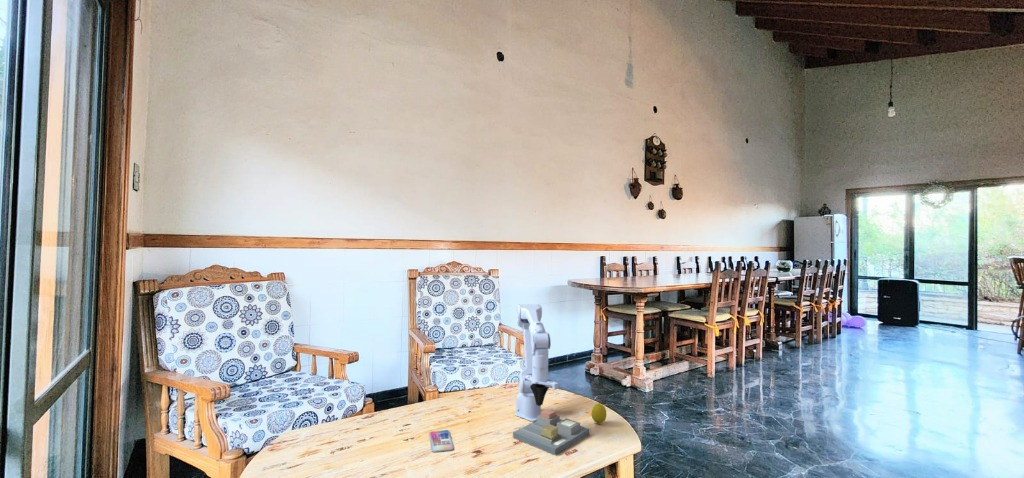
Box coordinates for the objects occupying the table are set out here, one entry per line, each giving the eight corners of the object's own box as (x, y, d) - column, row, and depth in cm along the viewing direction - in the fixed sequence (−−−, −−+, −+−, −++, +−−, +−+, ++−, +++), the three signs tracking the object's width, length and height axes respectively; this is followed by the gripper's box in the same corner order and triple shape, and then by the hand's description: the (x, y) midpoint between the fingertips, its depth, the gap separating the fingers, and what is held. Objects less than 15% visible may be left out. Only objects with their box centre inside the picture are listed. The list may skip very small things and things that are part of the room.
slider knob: (541, 437, 148) (541, 427, 148) (548, 433, 151) (548, 423, 151) (550, 441, 145) (551, 430, 145) (557, 437, 148) (558, 427, 148)
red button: (540, 417, 161) (540, 411, 161) (547, 414, 164) (547, 408, 164) (549, 420, 158) (549, 414, 158) (555, 417, 161) (555, 411, 161)
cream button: (560, 428, 155) (560, 422, 155) (566, 425, 158) (567, 419, 158) (570, 431, 152) (570, 426, 152) (576, 428, 155) (576, 422, 155)
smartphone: (431, 451, 140) (428, 431, 155) (431, 454, 140) (428, 434, 155) (454, 448, 142) (449, 429, 157) (454, 451, 142) (449, 431, 157)
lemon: (606, 428, 162) (606, 406, 162) (591, 426, 163) (591, 405, 163) (606, 422, 167) (606, 401, 167) (591, 420, 168) (591, 399, 168)
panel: (513, 437, 152) (513, 425, 152) (548, 420, 168) (549, 408, 168) (555, 455, 140) (555, 441, 140) (589, 434, 156) (589, 422, 156)
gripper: (517, 364, 158) (516, 402, 158) (549, 373, 148) (548, 413, 148) (529, 361, 163) (529, 397, 163) (561, 369, 154) (561, 407, 154)
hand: (539, 404), depth 156 cm, fingers closed
